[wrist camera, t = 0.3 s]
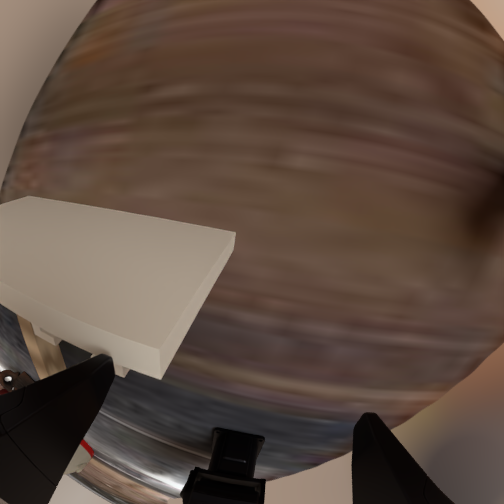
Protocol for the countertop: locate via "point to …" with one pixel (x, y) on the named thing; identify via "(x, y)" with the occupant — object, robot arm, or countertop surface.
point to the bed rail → (41, 351)
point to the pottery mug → (14, 380)
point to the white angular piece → (108, 278)
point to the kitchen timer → (80, 458)
